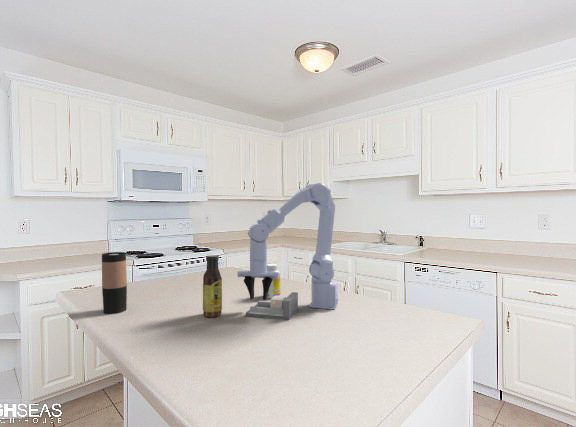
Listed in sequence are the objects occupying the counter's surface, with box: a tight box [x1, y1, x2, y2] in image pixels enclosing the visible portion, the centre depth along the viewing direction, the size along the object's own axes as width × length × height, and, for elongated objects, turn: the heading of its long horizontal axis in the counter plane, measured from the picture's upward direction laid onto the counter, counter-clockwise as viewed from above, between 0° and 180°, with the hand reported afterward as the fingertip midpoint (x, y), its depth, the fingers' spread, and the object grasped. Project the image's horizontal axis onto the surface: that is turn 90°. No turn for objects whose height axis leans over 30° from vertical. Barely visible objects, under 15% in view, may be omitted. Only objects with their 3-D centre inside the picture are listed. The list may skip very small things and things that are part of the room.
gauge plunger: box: [269, 295, 287, 309], centre depth 114 cm, size 4×8×4 cm, turn 164°
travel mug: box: [101, 251, 128, 315], centre depth 119 cm, size 8×8×20 cm
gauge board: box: [245, 291, 299, 321], centre depth 116 cm, size 15×11×6 cm
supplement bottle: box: [262, 263, 281, 299], centre depth 135 cm, size 7×7×13 cm
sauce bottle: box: [202, 254, 223, 318], centre depth 114 cm, size 6×6×20 cm
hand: (258, 298), depth 117 cm, fingers open, 4 cm apart
